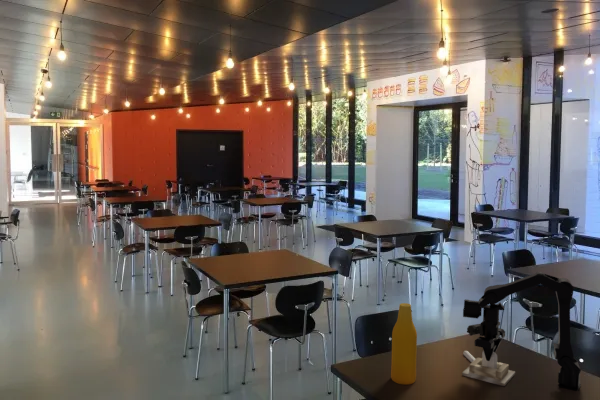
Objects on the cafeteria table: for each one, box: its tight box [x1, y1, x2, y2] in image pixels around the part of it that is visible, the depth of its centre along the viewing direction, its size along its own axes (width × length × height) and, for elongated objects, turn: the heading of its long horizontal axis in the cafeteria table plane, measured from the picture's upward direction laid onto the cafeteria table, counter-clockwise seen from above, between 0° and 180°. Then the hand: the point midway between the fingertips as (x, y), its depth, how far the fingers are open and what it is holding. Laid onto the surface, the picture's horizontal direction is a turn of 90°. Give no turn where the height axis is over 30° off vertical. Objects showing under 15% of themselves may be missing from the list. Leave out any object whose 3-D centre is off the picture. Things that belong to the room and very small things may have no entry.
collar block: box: [461, 357, 516, 387], centre depth 206 cm, size 16×14×4 cm
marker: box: [462, 350, 476, 364], centre depth 222 cm, size 3×2×16 cm
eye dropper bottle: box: [481, 350, 498, 369], centre depth 206 cm, size 4×6×12 cm
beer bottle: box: [390, 302, 418, 386], centre depth 200 cm, size 9×9×29 cm
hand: (489, 359), depth 206 cm, fingers closed on eye dropper bottle, 4 cm apart
